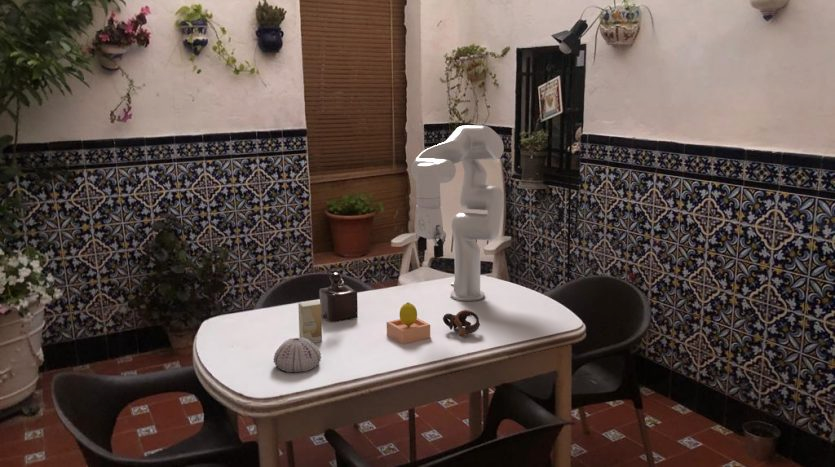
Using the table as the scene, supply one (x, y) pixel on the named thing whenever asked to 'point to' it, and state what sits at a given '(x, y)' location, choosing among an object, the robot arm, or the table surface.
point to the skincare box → (310, 321)
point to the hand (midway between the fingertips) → (430, 253)
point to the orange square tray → (408, 331)
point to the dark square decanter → (338, 300)
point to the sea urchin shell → (297, 355)
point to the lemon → (408, 314)
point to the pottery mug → (462, 322)
